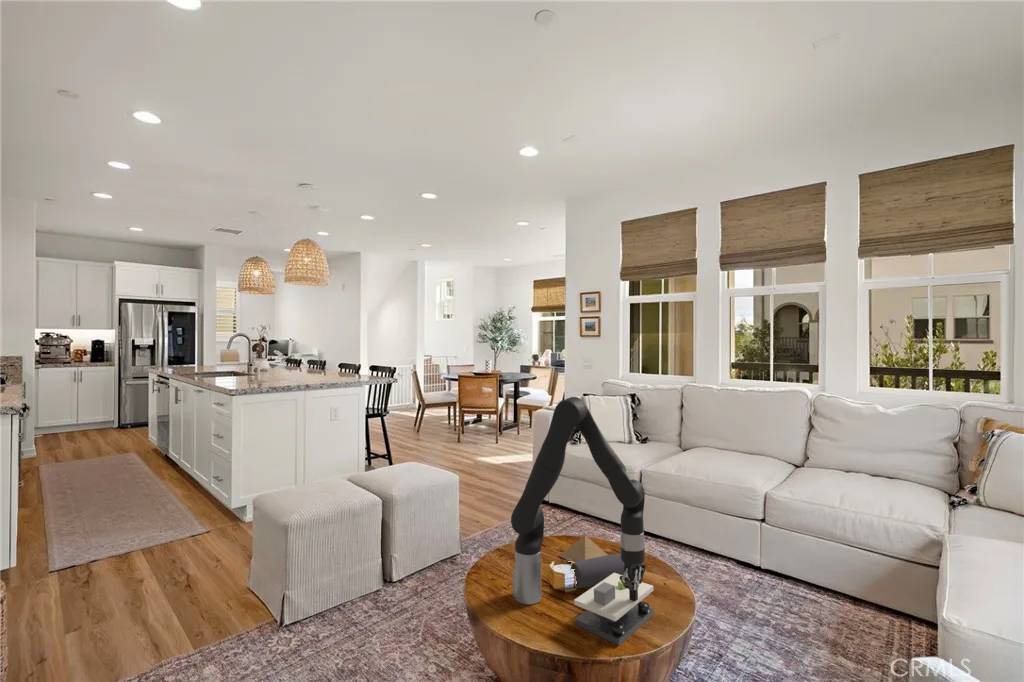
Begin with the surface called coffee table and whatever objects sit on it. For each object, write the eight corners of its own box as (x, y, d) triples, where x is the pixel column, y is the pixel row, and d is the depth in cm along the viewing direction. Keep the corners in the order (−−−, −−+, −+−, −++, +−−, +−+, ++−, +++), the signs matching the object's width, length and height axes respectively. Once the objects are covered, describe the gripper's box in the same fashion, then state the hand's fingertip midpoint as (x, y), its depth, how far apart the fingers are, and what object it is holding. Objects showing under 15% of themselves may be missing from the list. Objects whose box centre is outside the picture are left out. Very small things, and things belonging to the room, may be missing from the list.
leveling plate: (574, 607, 160) (573, 587, 160) (614, 580, 177) (613, 561, 177) (615, 625, 149) (615, 603, 149) (653, 593, 167) (653, 573, 167)
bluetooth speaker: (621, 572, 195) (621, 547, 195) (635, 584, 186) (635, 557, 186) (569, 583, 187) (569, 557, 187) (581, 596, 178) (581, 568, 178)
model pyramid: (555, 557, 209) (555, 533, 209) (585, 546, 219) (585, 523, 219) (583, 572, 196) (583, 547, 196) (614, 560, 206) (614, 536, 206)
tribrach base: (574, 624, 161) (574, 605, 161) (611, 597, 177) (611, 580, 177) (618, 646, 150) (618, 625, 150) (653, 614, 166) (653, 596, 166)
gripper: (632, 535, 166) (633, 587, 166) (611, 548, 156) (612, 604, 156) (653, 541, 161) (654, 595, 161) (632, 555, 151) (633, 612, 151)
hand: (633, 599), depth 159 cm, fingers closed
